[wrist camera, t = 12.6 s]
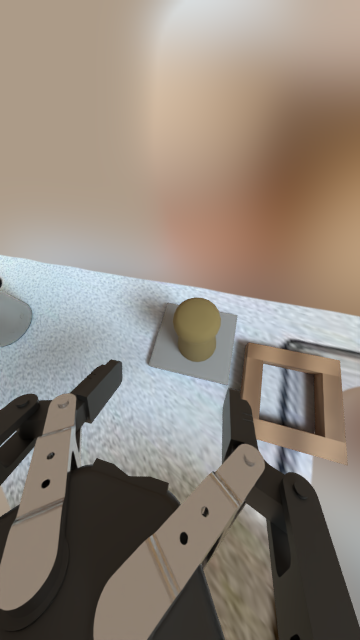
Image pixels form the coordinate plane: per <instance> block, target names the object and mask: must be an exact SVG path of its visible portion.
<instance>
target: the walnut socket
mask: <svg viewBox="0 0 360 640" xmlns="http://www.w3.org/2000/svg"><path fill="white" fill-rule="evenodd" d="M263 364H268V365H272V366H277V367H281V368H286V369H291V370H295V371H300V372H304V373H309V374H314V407H315V434H313V433H310V432H306V431H302V430H299V429H295V428H291V427H287V426H284V425H280V424H276V423H273V422H269V421H265V420H261V419H259V411H260V398H261V384H262V371H263ZM240 395H241V399H243V400H247V401H248V403H249V405H250V406H251V409H252V417H253V421H254V422H253V423H254V427H255V434H256V439H258V440H261V441H265V442H268V443H272V444H275V445H278V446H282V447H285V448H289V449H292V450H296V451H299V452H303V453H306V454H310V455H313V456H317V457H320V458H324V459H328V460H331V461H334V462H337V463H341V464H345V465H348V463H347V449H346V436H345V422H344V410H343V396H342V382H341V369H340V361H339V360H334V359H329V358H324V357H319V356H314V355H309V354H304V353H299V352H294V351H289V350H284V349H279V348H274V347H269V346H264V345H259V344H254V343H248V344H247V345H246V346H245V354H244V363H243V372H242V381H241V390H240Z"/></svg>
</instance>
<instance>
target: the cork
mask: <svg viewBox="0 0 360 640" xmlns="http://www.w3.org/2000/svg"><path fill="white" fill-rule="evenodd" d="M173 325H174V329H175V331H176V333H177V335H178V336H179V337H178V347H179V351H180V352H181V354H182V355H183V356H184V357H185V358H186V359H188V360H190V361H192V362H201V361H205V360H207V359H208V358H210V357H211V356H212V355H213V353H214V351H215V349H216V335H217V333H218V331H219V329H220V326H221V317H220V314H219V311H218V309H217V308H216V306H215V305H214V304H213V303H212V302H210V301H209V300H206V299H203V298H191V299H187V300H186V301H184V302H182V303H181V304H180V305H179V306H178V307H177V309H176V311H175V313H174V317H173Z"/></svg>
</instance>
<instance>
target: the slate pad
mask: <svg viewBox="0 0 360 640" xmlns="http://www.w3.org/2000/svg"><path fill="white" fill-rule="evenodd" d="M178 306H179V305H176V304H171V303H167V306H166V309H165V312H164V316H163V319H162V322H161V326H160V329H159V332H158V336H157V339H156V343H155V346H154V349H153V353H152V356H151V359H150V363H149V366H151V367H155V368H159V369H163V370H167V371H171V372H175V373H179V374H183V375H188V376H192V377H196V378H200V379H204V380H208V381H212V382H216V383H220V384H224V385H228V379H229V372H230V365H231V358H232V350H233V343H234V336H235V329H236V322H237V315H233V314H227V313H222V312H219V314H220V317H221V326H220V329H219V331H218V333H217V335H216V349H215V351H214V353H213V355H212V356H211V357H210V358H208V359H207V360H205V361H201V362H192V361H190V360H188V359H186V358H185V357H184V356H183V355H182V354H181V352H180V351H179V347H178V337H179V336H178V335H177V333H176V331H175V329H174V325H173V317H174V313H175V311H176V309H177V307H178Z"/></svg>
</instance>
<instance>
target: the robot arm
mask: <svg viewBox="0 0 360 640" xmlns="http://www.w3.org/2000/svg"><path fill="white" fill-rule="evenodd" d="M31 319H32V312H31V309H30V307H29V306H28V305H27V304H26V303H24V302H22V301H20V300H18V299H16V298H14V297H12V296H11V295H9V294H7V293H5V292H3V291H1V290H0V347H2V346H7V345H9V344H11V343H13V342H15V341H16V340H18V339H19V338H20V337H21V336H22V335H23V334H24V333H25V332H26V330H27V329H28V327H29V325H30V323H31ZM121 382H122V363H121V362H120V361H116V360H112V359H111V360H110V361H109V362H108V363H107V364H106V365H101V366H99V367H97V368H96V369H94V370H93V371H92V372H91V374H89V375H88V376H87V378H85V379H84V380H83V381H82V382H81V383H80V384H79V385H78V386H77V387H76V388H75V389H74V390H73V391H72V392H71V393H68V394H62V395H60V396H58V397H56V398H55V399H53V400H41V401H39V400H38V397H37V395H35V394H26V395H22V396H20V397H18V398H16V399H14V400H13V401H12V402H10V403H9V404H8V405H7V406H5V407H4V408H3V409H1V410H0V446H1V444H2V443H3V442H4V441H5V440H6V439H7V438H9V437H10V436H11V435H12V434H13V433H14V432H15V431H17V432H16V433H15V434H14V435H13V436H12V437H11V438H10V439H9V440H8V441H6V442H5V443H4V444H3V445H2V446H1V447H0V485H1V484H2V483H3V482H4V481H5V480H6V478H7V477H8V476H9V475H10V474H11V473H12V472H13V470H14V469H15V468H16V467H17V466H18V465H19V464H20V462H21V461H22V460H23V459H24V458H25V457H26V456H27V455H28V453H29V452H30V451H31V450H32V449H33V448H34V447H35V448H34V452H33V456H32V460H31V463H30V467H29V471H28V475H27V479H26V483H25V487H24V490H23V494H22V498H21V502H20V504H19V505H18V506H16V507H15V508H13V509H12V510H10V511H9V512H7V513H5V514H4V515H2V516H1V517H0V640H225V638H224V635H223V632H222V629H221V625H220V622H219V619H218V616H217V613H216V609H215V606H214V603H213V600H212V597H211V594H210V590H209V587H208V584H207V581H206V578H205V574H204V571H203V570H204V569H205V567H206V566H207V564H208V563H209V561H210V560H211V558H212V557H213V555H214V554H215V552H216V550H217V549H218V547H219V546H220V544H221V542H222V541H223V539H224V537H225V536H226V534H227V532H228V531H229V529H230V528H231V526H232V525H233V523H234V522H235V520H236V519H237V517H238V515H239V514H240V512H241V511H242V509H243V508H244V506H245V505H246V503H247V504H248V505H250V506H251V507H252V508H254V509H255V510H256V511H257V512H259V513H260V514H261V515H263V516H264V517H265V518H266V521H267V531H268V540H269V549H270V559H271V568H272V578H273V587H274V596H275V606H276V615H277V624H278V634H279V640H360V627H359V624H358V621H357V618H356V615H355V611H354V608H353V605H352V602H351V599H350V596H349V593H348V590H347V586H346V583H345V580H344V577H343V575H342V571H341V568H340V565H339V561H338V558H337V555H336V552H335V549H334V546H333V543H332V540H331V537H330V534H329V530H328V528H327V524H326V521H325V518H324V515H323V512H322V509H321V505H320V502H319V499H318V496H317V494H316V492H315V490H314V489H313V487H312V486H311V484H310V483H309V482H308V481H307V480H306V479H305V478H303V477H302V476H300V475H299V474H296V473H293V472H289V473H286V474H285V475H284V474H283V473H281V472H280V471H278V470H276V469H275V468H273V467H272V466H270V465H269V464H268V463H267V462H266V461H265V460H264V459H263V457H262V455H261V453H260V452H259V450H258V446H257V440H256V434H255V427H254V423H253V422H254V421H253V417H252V409H251V406H250V405H249V403H248V401H247V400H243V399H241V395H240V390H236V389H232V388H228V391H227V394H226V398H225V401H224V406H223V426H222V465H221V466H220V467H219V469H218V470H217V471H216V472H211V473H210V474H209V475H208V476H207V477H206V478H205V479H204V480H203V481H202V482H201V484H200V485H199V486H198V487H197V488H196V489H195V490H194V491H193V492H192V493H191V494H190V495H189V497H188V498H187V499H186V500H185V501H184V502H183V503H182V504H180V502H179V501H178V500H177V498H176V497H175V496H174V495H173V494H172V493H171V492H170V491H169V490H168V485H169V483H167V482H164V481H161V480H158V479H155V478H152V477H136V476H128V475H127V474H125V473H124V472H123V471H122V470H120V469H119V468H118V467H117V466H115V465H114V464H112V463H109V462H106V461H103V460H100V459H98V458H97V459H96V460H95V462H94V464H93V465H85V466H82V467H81V438H82V425H83V424H84V423H85V422H87V423H92V422H93V421H94V419H95V418H96V417H97V415H98V414H99V413H100V411H101V410H102V409H103V407H104V406H105V404H106V403H107V402H108V400H109V399H110V398H111V396H112V395H113V394H114V392H115V391H116V390H117V388H118V387H119V386H120V384H121Z"/></svg>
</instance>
